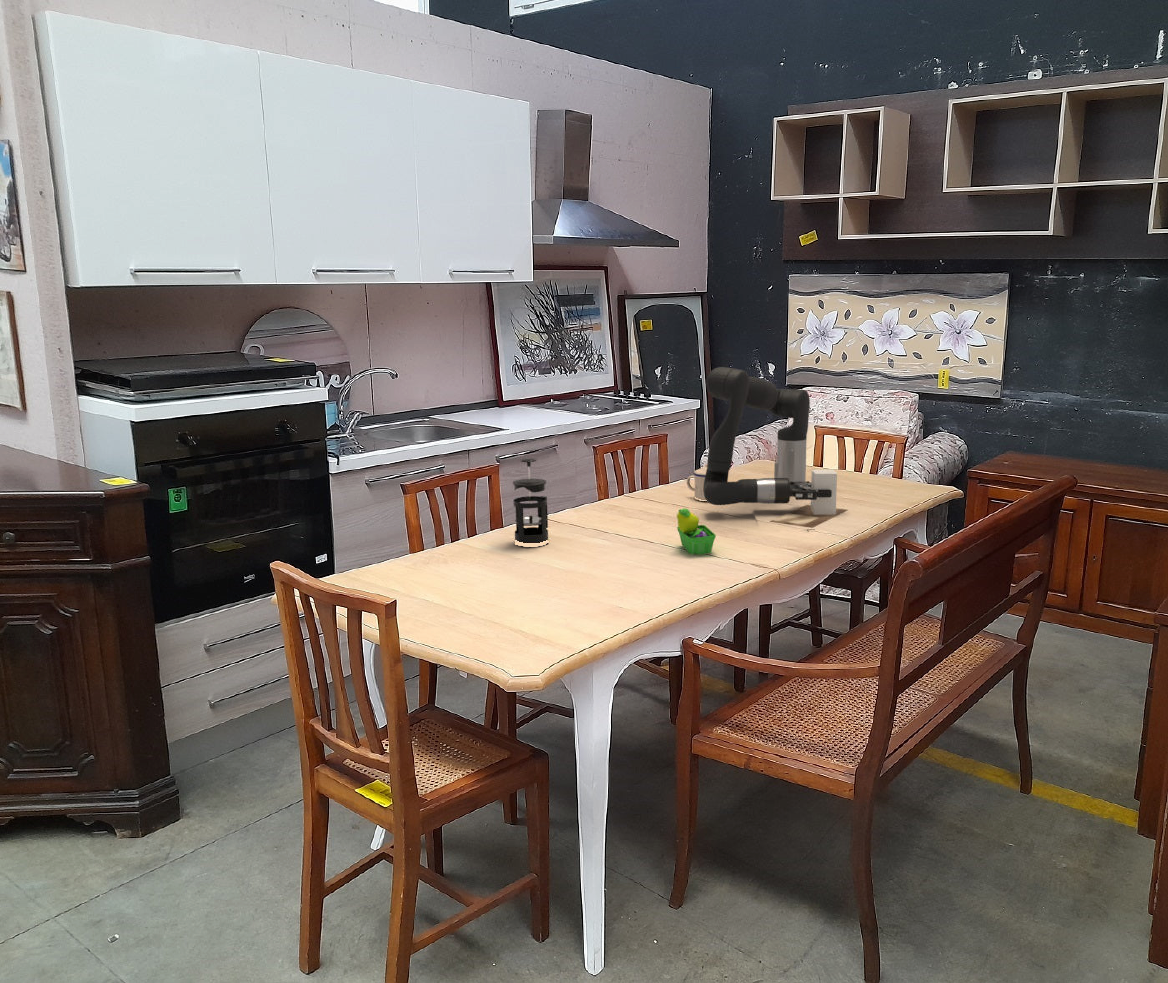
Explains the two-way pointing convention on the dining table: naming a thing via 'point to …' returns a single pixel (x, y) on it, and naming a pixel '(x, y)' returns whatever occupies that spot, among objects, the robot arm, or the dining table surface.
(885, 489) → the dining table surface
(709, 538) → the fruit basket
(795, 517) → the board
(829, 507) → the white rounded block
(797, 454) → the robot arm
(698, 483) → the teacup with lid
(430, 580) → the dining table surface
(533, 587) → the dining table surface
